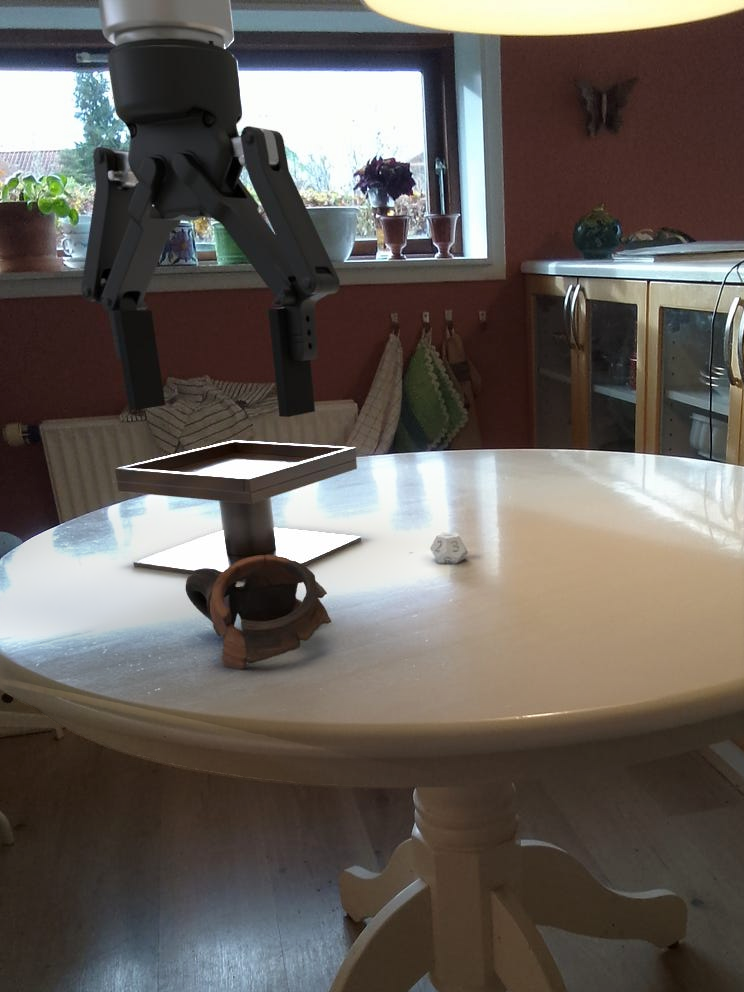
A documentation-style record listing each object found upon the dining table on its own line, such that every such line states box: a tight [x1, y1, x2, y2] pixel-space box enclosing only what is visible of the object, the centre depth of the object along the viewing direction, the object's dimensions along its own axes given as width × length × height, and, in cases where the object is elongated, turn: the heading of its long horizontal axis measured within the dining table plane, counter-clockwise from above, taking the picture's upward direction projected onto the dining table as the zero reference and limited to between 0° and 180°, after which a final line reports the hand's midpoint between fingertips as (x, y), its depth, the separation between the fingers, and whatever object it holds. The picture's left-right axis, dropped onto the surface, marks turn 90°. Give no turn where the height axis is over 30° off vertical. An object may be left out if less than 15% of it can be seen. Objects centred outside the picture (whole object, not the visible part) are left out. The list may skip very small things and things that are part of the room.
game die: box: [429, 532, 469, 565], centre depth 89 cm, size 4×4×3 cm
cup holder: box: [114, 440, 362, 583], centre depth 92 cm, size 16×17×10 cm
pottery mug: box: [185, 555, 332, 670], centre depth 68 cm, size 12×10×8 cm
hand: (218, 411), depth 63 cm, fingers open, 13 cm apart
